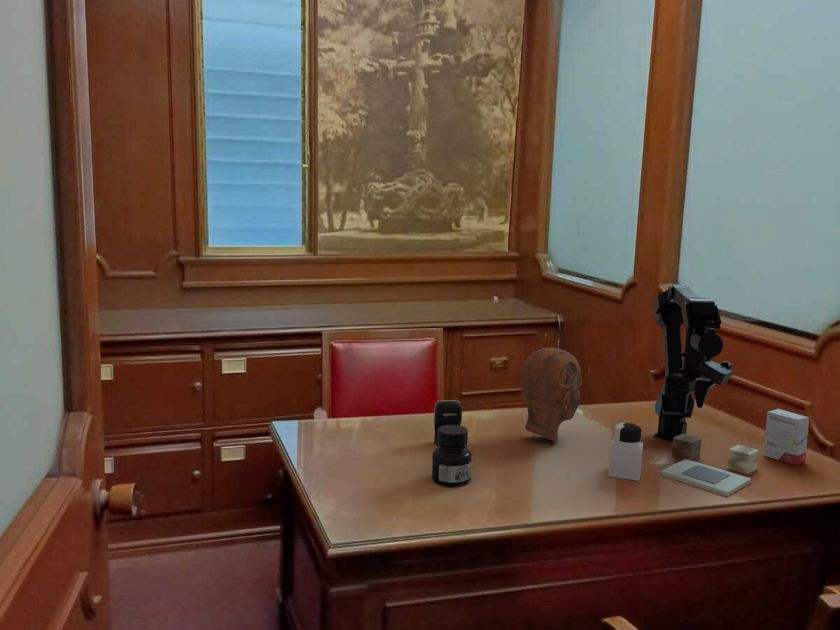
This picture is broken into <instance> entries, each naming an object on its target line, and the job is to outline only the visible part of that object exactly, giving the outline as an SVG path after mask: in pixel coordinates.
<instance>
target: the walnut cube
mask: <svg viewBox="0 0 840 630" xmlns="http://www.w3.org/2000/svg"><path fill="white" fill-rule="evenodd" d="M671 446H672V449H671V457H672V456H673V457H672V458H675V457H677V458H676V459H679V458H680V459H679V460H682V459H684V460H685V459H688V460H691V461H695V460H697V459H699V458H701V449H702V438H701V437H697V436H694V435H689V434H687V433H686V434H681V435H678V436H676V437H674V438H673V441H672V445H671Z"/></svg>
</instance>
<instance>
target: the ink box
mask: <svg viewBox="0 0 840 630" xmlns="http://www.w3.org/2000/svg"><path fill="white" fill-rule="evenodd" d="M809 423H810V417H808V416H805V415H801V414H799V413H798V414H797V413H796V412H795V413H793V412H792V411H791V412H790V411H787V410H784V409H780V408H776V409H772V410H768V411H767V412H766V424H765V437H764V447H763V456H764V457H768V458H771V459H774V460H776V461H781V462H784V463H787V464H789V465H794V466H798V465H801V464H803V463H804V462H806V455H807V446H808V433H809V425H810V424H809Z"/></svg>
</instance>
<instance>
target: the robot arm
mask: <svg viewBox="0 0 840 630" xmlns="http://www.w3.org/2000/svg"><path fill="white" fill-rule="evenodd" d="M719 310H720V309H719V307H718V305H717V304H716V302H715V300H714V298H713V299H712V298H706V297H700V296H699V295H697V294H696V292H693V291H692V290H691V289H690V286H688V285H686V284H670V285H668V287H667V289H666V290H665V291H663V292H661V293H660V294H658V295H657V296H656V298H655V301H654V303H653V313H654V314H655V320H656V323H657V324H658V326H659V327H660V329H662V336H663V337H662V338H663V354H664V370H665V371H664V374H665V376H664V383H663V385H662V386H661V388H660V391H659V393H660V394H659V395H658V397H657V400H656V401H655V404H654V413H655V414H656V415H657V416H658V425H657V432H656V433H654V437H658V438H661V439H665V440H667V441H670V442H673V438H674V437H676V436H678V435H681V434H686V435H687V429H688V423H687V419H691V417H692V415H693V411H694V407H695V404H696V407H697V408H699V409H702V408H703V406H704V404H705V402H706V400H707V398H708V397H707V396H708V393H709V392H710V389H711V388H712V387H713V386H715V385H718V386H722V385H723V384H727V383H728V381H729V379H730V377H732V376H733V365H732V363H731V362H729V361H727V360H726V361H723V362H722V363H720V362H715V361H713V358H715V357H717V356H719V355H720V354H721V353H722V351H723V349H724V341H723V340H722V338H721V337H720V335H718V334H716V333H717V332H716V331H717V330H721V325H722V318H721V314H720V311H719ZM683 323H684V326H685V331H684V332H685V333H684V345H683V346H684V347H683V346H682V332H681V331H682V330H681V327H682V325H683ZM693 392H694V396H693V395H692V394H693ZM694 398H695V399H694Z"/></svg>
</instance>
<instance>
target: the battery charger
mask: <svg viewBox="0 0 840 630" xmlns="http://www.w3.org/2000/svg"><path fill="white" fill-rule="evenodd" d="M433 410H434V411H433V431H434V432H433V434H434V435H433V442H434V443H435V445H437V443H438V442H437V437H438V428H439V427H441V426H444V425H459V426H462V425H461V424H462V421H463V420H462V419H463V414H462V413H463V408H462V405H461V403H460V401H459V400H456V399H453V400H452V399H445V400H444V399H442V400H437V401H436V402H435V404H434V409H433Z"/></svg>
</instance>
